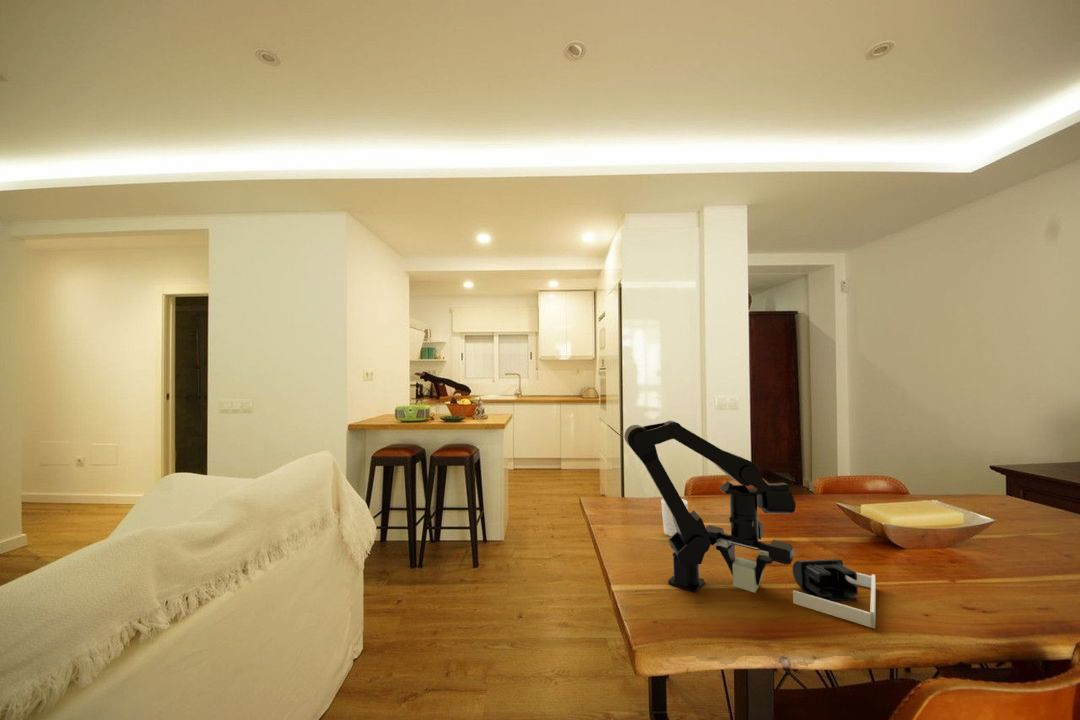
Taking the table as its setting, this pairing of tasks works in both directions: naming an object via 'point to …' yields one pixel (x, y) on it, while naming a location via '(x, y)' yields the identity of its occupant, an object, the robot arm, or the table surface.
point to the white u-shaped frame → (841, 609)
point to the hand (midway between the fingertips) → (746, 580)
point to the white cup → (669, 518)
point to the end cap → (826, 579)
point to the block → (745, 574)
